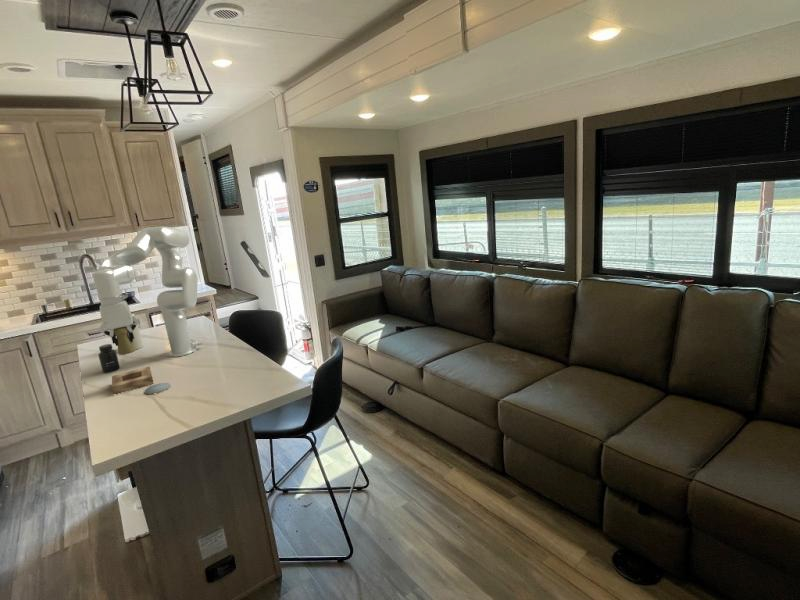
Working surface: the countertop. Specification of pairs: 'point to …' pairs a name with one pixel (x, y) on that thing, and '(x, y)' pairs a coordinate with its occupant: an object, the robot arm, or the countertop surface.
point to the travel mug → (136, 337)
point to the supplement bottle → (108, 358)
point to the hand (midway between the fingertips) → (124, 342)
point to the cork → (123, 341)
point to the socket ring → (132, 380)
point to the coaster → (157, 388)
